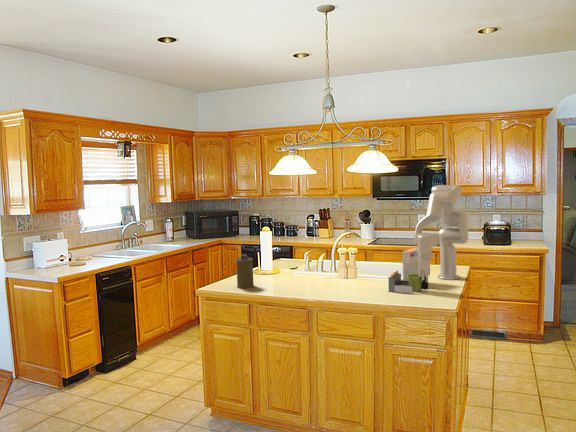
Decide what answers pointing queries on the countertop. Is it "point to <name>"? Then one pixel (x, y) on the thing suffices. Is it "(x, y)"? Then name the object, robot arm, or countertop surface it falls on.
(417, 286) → the plant pot
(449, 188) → the robot arm
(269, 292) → the countertop surface
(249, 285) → the canister
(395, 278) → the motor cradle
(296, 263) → the countertop surface
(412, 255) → the cracker box
